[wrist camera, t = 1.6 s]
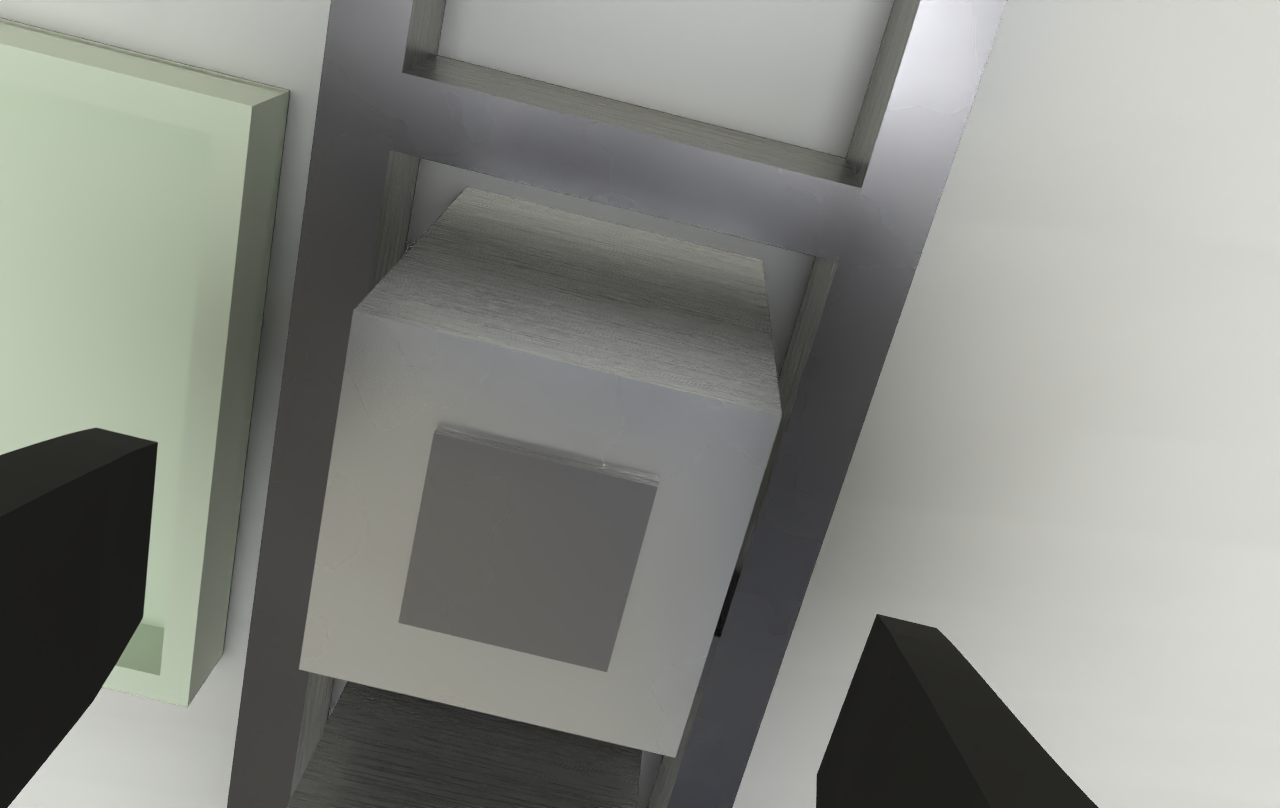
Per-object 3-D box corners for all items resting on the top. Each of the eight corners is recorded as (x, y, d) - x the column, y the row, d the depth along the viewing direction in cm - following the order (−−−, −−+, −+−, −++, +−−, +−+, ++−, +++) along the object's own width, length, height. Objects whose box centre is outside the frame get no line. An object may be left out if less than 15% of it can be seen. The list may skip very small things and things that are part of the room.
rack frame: (663, 932, 23) (658, 1022, 21) (253, 838, 23) (212, 921, 21) (1098, -385, 14) (1154, -429, 13) (452, -560, 14) (412, -630, 12)
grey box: (687, 517, 20) (675, 765, 14) (418, 452, 19) (294, 676, 14) (762, 259, 18) (782, 421, 12) (468, 185, 18) (349, 315, 12)
